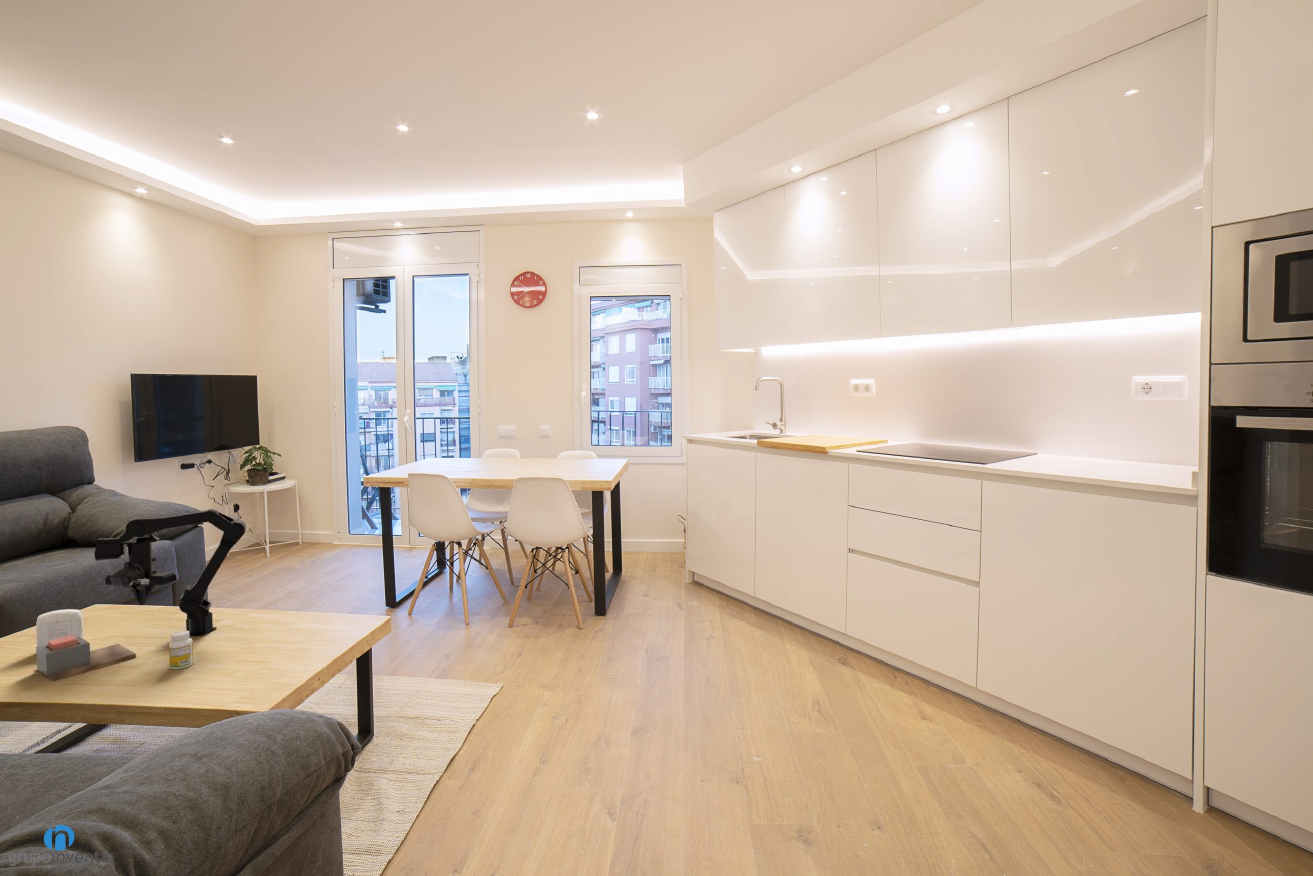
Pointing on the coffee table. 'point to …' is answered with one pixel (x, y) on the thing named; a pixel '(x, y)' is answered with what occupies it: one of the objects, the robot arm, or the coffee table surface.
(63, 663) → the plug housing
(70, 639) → the plug
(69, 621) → the photo printer
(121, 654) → the board
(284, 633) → the coffee table surface
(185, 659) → the supplement bottle
